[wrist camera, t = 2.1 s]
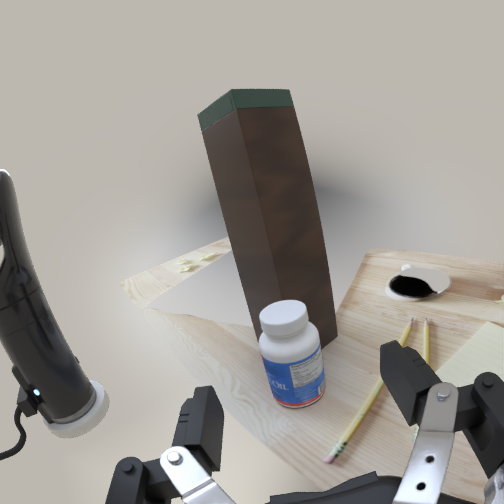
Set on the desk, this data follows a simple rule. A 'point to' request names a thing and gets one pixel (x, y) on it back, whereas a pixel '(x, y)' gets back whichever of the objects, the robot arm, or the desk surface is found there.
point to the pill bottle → (291, 354)
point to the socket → (243, 103)
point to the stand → (271, 213)
